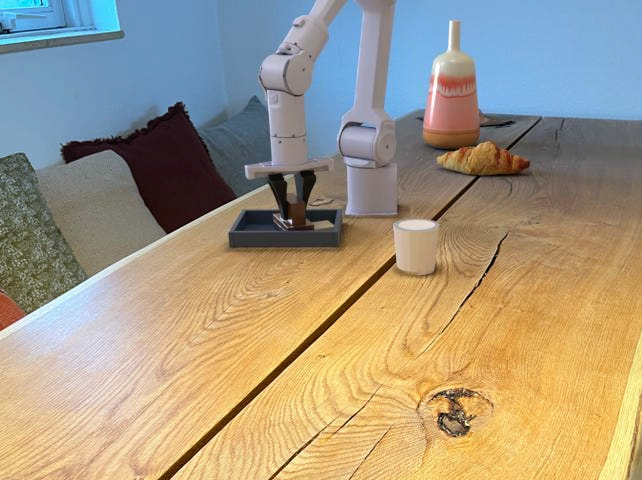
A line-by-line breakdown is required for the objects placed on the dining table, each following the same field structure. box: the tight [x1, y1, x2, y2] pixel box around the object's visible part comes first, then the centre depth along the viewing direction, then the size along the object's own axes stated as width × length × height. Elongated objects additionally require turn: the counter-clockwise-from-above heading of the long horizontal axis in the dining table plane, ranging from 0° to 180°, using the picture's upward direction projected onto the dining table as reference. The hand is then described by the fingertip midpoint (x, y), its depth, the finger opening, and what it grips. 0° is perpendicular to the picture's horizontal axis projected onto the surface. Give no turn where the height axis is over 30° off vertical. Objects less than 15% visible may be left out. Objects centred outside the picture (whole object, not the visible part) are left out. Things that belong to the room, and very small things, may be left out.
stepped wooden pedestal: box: [273, 192, 314, 231], centre depth 133 cm, size 4×9×6 cm, turn 23°
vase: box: [422, 19, 481, 150], centre depth 196 cm, size 14×14×30 cm
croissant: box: [436, 140, 531, 176], centre depth 176 cm, size 21×10×8 cm, turn 72°
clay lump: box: [311, 220, 334, 231], centre depth 135 cm, size 4×4×1 cm
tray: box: [227, 208, 344, 249], centre depth 134 cm, size 18×14×3 cm
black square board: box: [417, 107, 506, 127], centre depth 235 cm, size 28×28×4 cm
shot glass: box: [392, 218, 440, 277], centre depth 119 cm, size 7×7×7 cm
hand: (293, 217), depth 133 cm, fingers closed on stepped wooden pedestal, 2 cm apart
